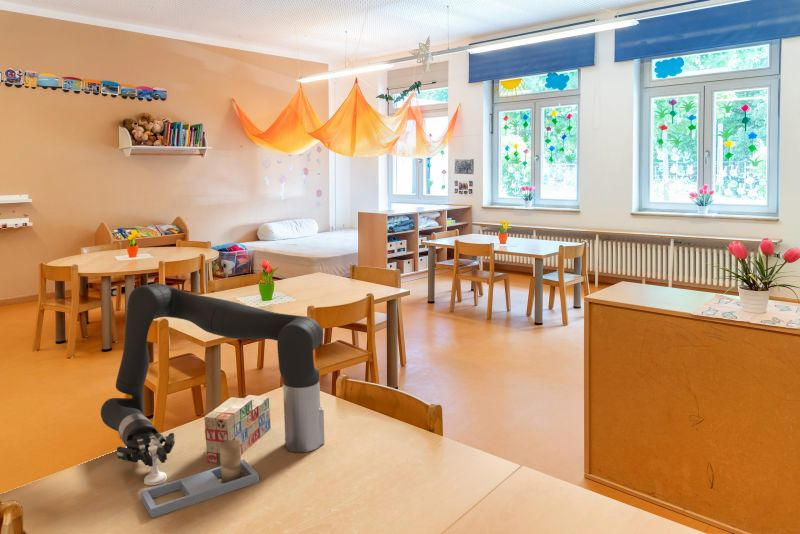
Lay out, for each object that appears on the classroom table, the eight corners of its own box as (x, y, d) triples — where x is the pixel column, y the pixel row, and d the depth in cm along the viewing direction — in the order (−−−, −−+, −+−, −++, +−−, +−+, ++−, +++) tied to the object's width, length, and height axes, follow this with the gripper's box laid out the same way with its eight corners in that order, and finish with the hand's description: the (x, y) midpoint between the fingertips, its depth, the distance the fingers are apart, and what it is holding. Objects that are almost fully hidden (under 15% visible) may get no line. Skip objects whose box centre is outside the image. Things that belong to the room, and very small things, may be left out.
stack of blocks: (250, 426, 167) (248, 384, 165) (271, 428, 166) (269, 386, 164) (206, 463, 147) (203, 415, 145) (229, 466, 145) (226, 418, 143)
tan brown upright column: (237, 473, 142) (235, 438, 140) (244, 481, 138) (242, 445, 137) (219, 479, 139) (216, 443, 138) (226, 487, 136) (223, 450, 134)
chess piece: (139, 483, 138) (135, 442, 136) (155, 472, 142) (151, 433, 141) (155, 487, 136) (152, 446, 134) (171, 476, 141) (168, 436, 139)
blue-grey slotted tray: (244, 466, 145) (244, 459, 145) (258, 481, 138) (258, 473, 138) (141, 499, 131) (140, 491, 131) (151, 518, 124) (151, 509, 124)
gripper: (106, 426, 145) (122, 454, 131) (165, 412, 153) (187, 436, 139) (109, 455, 146) (125, 485, 132) (167, 439, 154) (189, 466, 141)
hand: (157, 460), depth 136 cm, fingers closed on chess piece
